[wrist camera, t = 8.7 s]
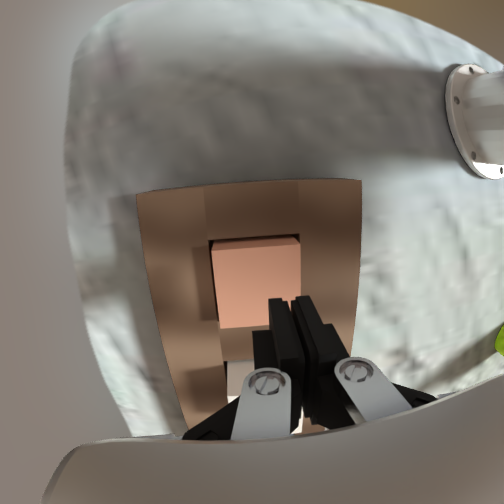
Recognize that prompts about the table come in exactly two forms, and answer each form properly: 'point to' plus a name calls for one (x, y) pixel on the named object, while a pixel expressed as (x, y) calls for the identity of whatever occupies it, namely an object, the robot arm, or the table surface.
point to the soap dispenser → (500, 341)
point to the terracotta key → (254, 277)
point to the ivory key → (236, 377)
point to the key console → (202, 274)
